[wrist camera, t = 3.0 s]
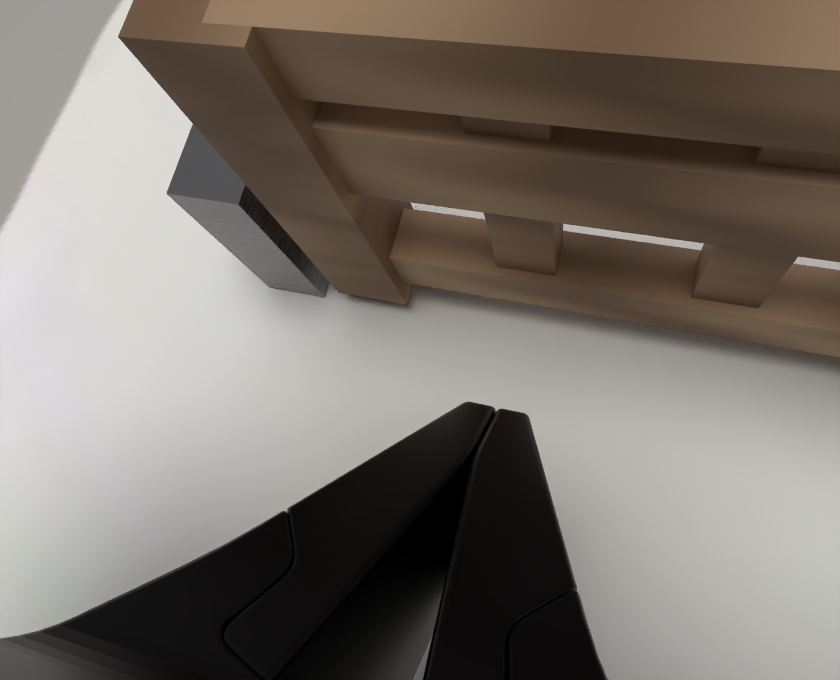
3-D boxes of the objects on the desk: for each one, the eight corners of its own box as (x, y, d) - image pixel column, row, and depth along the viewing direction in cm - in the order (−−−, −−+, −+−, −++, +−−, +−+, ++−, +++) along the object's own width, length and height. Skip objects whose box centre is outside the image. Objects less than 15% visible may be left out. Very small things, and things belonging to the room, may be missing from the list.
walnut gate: (961, 319, 14) (1543, -32, 6) (956, 403, 14) (1576, 160, 5) (358, 226, 18) (166, -77, 9) (338, 292, 17) (118, 36, 9)
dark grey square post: (1052, 430, 14) (1821, 230, 5) (268, 286, 18) (14, 55, 10) (1055, 352, 14) (1772, 51, 6) (287, 230, 19) (57, -38, 10)
